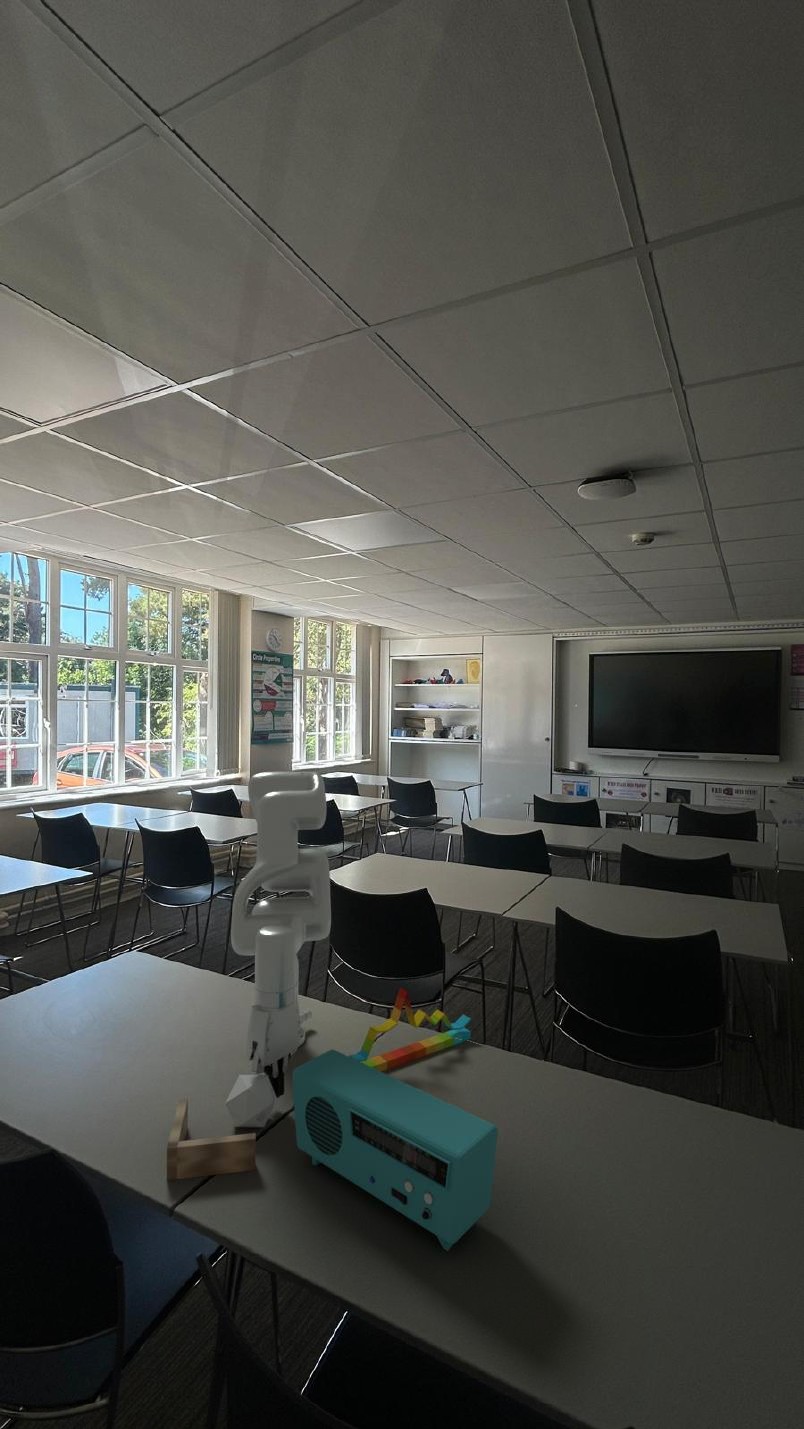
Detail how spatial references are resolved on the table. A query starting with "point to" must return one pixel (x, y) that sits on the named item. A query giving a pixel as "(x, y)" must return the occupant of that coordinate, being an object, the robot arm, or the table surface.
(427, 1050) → the chart
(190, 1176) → the bracket
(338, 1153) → the radio
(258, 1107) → the die
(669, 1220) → the table surface
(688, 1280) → the table surface
